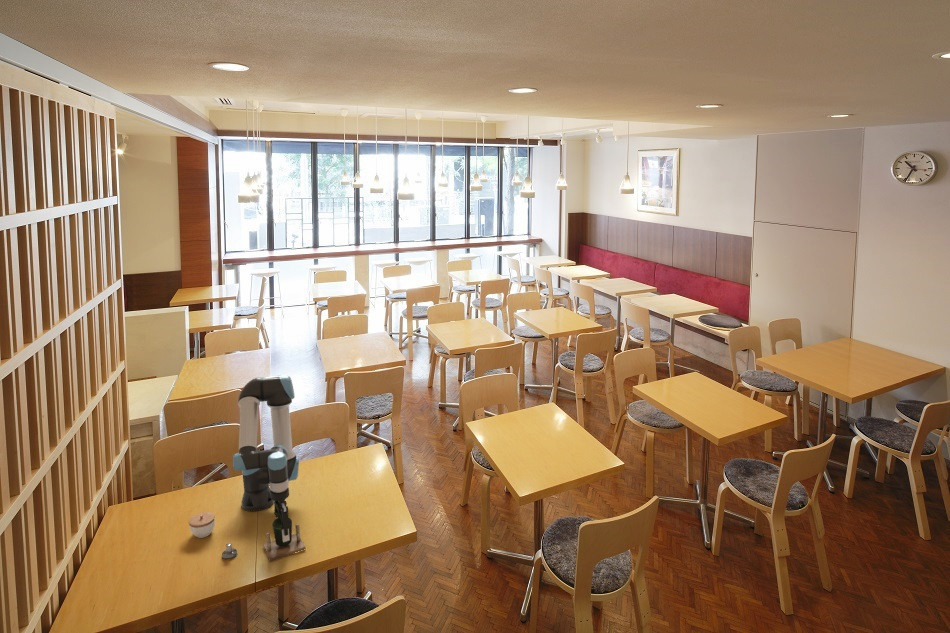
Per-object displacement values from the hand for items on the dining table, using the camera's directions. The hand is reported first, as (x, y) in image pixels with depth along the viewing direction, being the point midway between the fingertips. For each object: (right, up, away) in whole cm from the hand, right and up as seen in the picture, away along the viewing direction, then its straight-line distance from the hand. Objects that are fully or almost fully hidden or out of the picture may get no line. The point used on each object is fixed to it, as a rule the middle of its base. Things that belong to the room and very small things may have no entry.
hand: (283, 535), depth 253 cm
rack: (0, -6, +1) cm, 6 cm away
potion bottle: (0, -3, +1) cm, 3 cm away
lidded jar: (-40, -4, +12) cm, 42 cm away
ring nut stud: (-22, -7, -3) cm, 23 cm away
